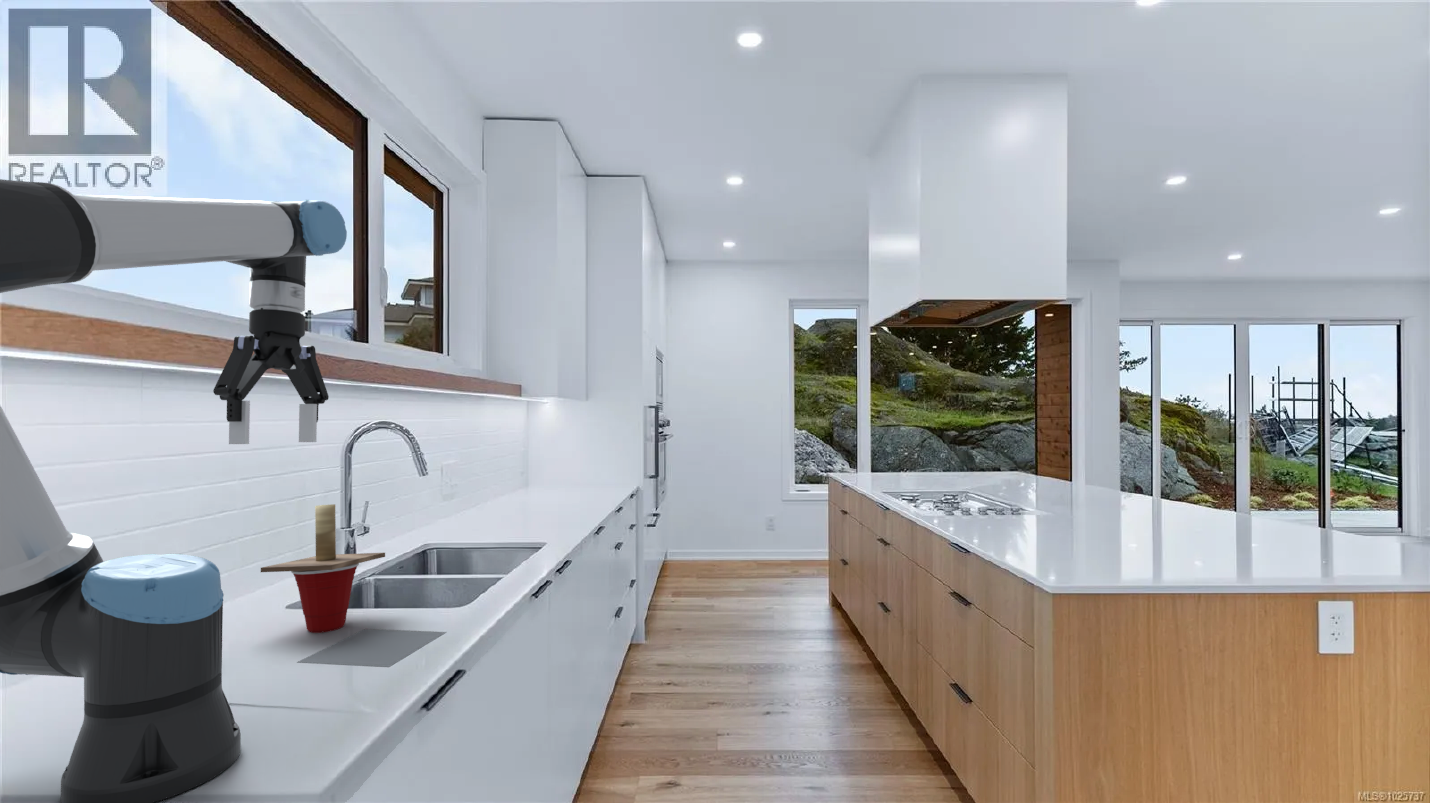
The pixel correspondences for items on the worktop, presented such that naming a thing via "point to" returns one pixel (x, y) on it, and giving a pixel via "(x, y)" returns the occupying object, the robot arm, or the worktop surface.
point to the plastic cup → (325, 597)
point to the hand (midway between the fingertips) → (275, 443)
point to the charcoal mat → (373, 648)
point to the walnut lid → (324, 548)
